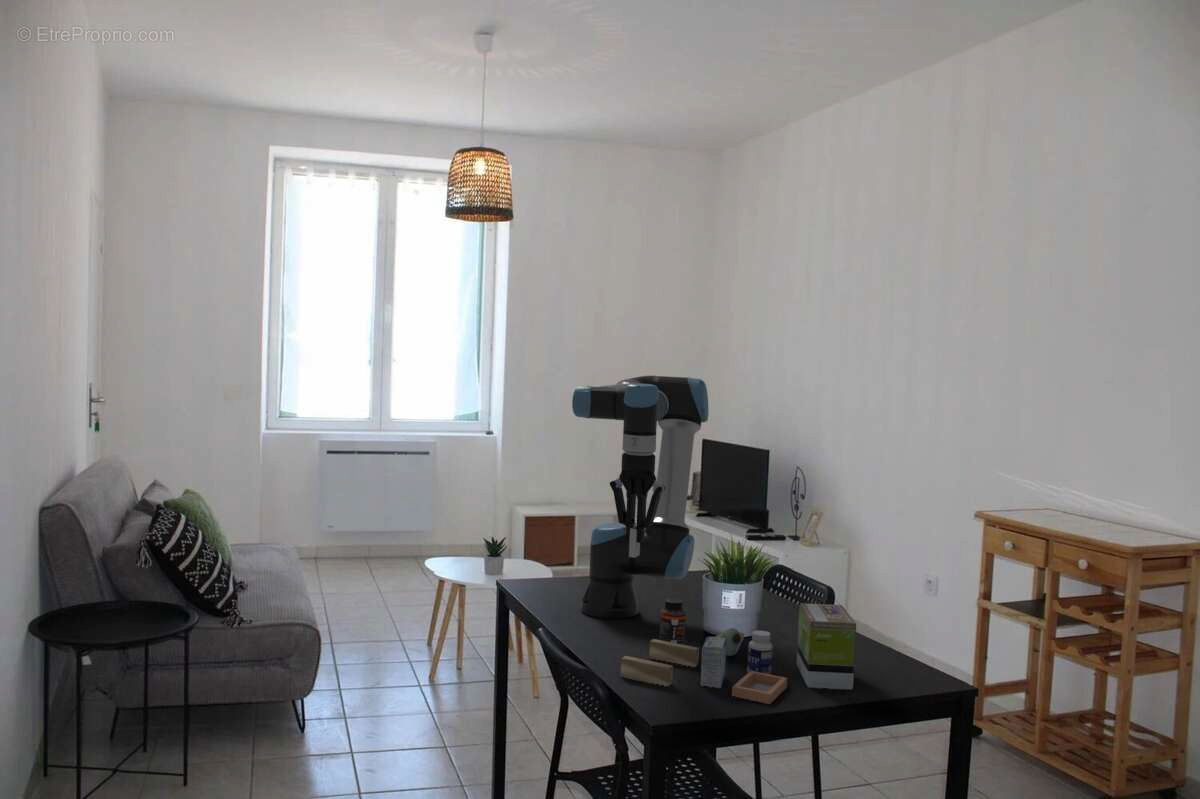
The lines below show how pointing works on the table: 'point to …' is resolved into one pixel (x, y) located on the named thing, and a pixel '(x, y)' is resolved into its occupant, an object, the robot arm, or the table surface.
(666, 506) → the robot arm
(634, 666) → the parallel beige slabs
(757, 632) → the pill bottle
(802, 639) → the tea box
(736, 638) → the pale green rounded piece
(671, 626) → the supplement bottle
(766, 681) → the tray
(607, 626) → the table surface
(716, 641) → the medicine box
